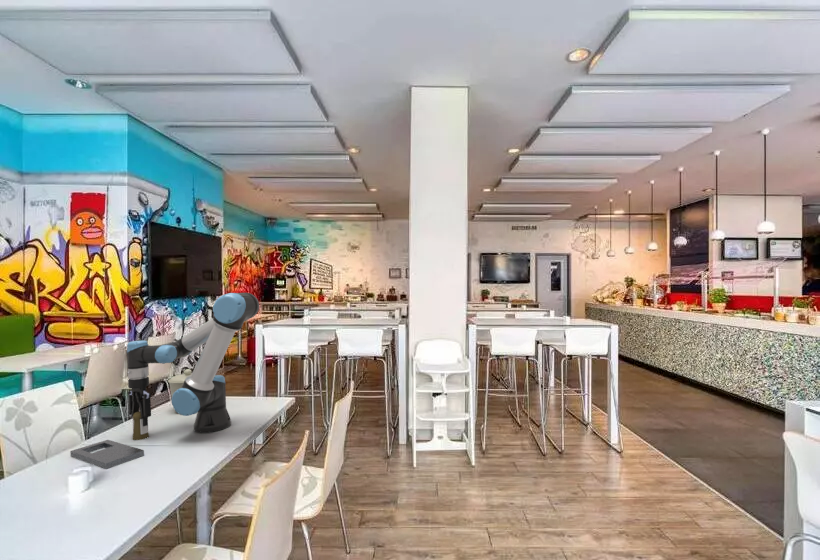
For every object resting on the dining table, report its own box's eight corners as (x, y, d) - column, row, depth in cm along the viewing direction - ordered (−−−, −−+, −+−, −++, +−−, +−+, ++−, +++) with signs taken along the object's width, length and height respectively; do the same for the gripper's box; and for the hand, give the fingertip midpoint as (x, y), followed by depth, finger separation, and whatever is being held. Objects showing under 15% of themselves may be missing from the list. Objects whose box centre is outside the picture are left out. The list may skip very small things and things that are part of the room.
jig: (144, 455, 164) (143, 450, 164) (106, 469, 153) (105, 463, 153) (108, 444, 178) (107, 439, 178) (70, 456, 166) (70, 451, 166)
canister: (189, 416, 212) (188, 373, 212) (160, 414, 217) (158, 372, 217) (216, 406, 229) (214, 366, 230) (188, 404, 235) (187, 365, 235)
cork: (141, 440, 181) (140, 414, 181) (128, 440, 182) (127, 413, 182) (152, 435, 187) (151, 409, 187) (140, 434, 188) (139, 409, 188)
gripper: (117, 377, 186) (119, 432, 186) (141, 381, 177) (143, 438, 177) (136, 374, 192) (138, 426, 192) (159, 377, 183) (161, 432, 183)
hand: (140, 432), depth 185 cm, fingers closed on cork, 5 cm apart
